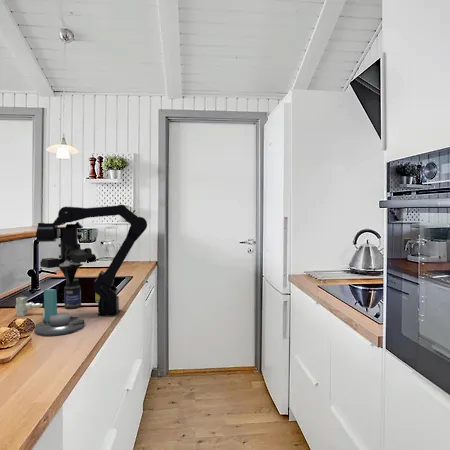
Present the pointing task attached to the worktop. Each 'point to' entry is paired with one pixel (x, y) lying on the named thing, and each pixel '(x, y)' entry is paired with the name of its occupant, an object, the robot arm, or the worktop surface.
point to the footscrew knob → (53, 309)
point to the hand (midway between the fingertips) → (70, 283)
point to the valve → (25, 306)
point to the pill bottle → (72, 295)
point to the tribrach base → (59, 327)
